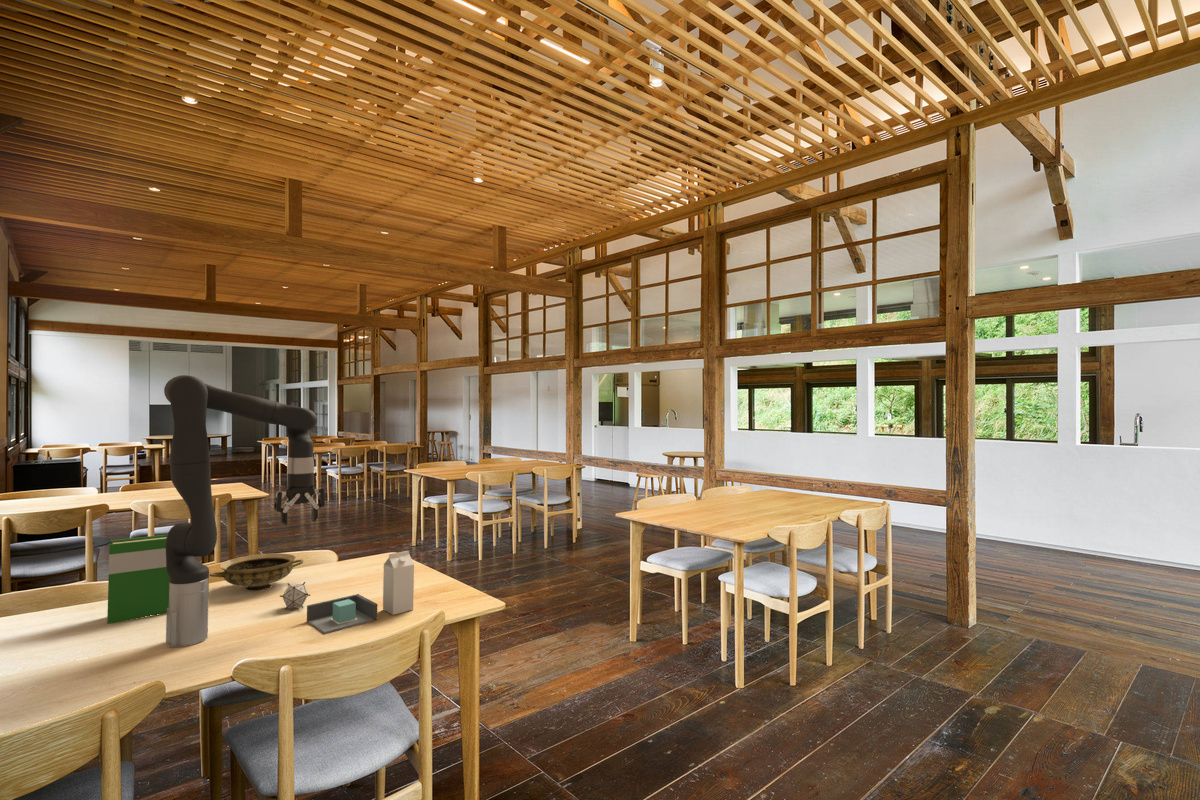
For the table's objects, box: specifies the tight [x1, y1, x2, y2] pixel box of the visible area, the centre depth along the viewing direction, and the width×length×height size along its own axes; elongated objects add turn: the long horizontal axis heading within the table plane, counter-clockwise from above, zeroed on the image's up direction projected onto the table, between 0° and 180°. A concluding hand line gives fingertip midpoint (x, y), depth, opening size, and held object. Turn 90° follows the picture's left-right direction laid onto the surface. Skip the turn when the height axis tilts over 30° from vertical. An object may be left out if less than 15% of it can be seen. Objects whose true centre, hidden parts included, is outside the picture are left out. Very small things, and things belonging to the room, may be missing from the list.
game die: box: [279, 581, 311, 611], centre depth 190 cm, size 9×8×10 cm
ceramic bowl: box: [209, 552, 304, 592], centre depth 211 cm, size 30×24×10 cm
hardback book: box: [106, 534, 169, 625], centre depth 183 cm, size 18×7×24 cm, turn 130°
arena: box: [306, 593, 378, 635], centre depth 179 cm, size 16×14×5 cm
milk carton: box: [382, 550, 415, 615], centre depth 189 cm, size 7×7×19 cm
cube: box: [333, 599, 356, 623], centre depth 179 cm, size 5×5×5 cm
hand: (299, 522), depth 181 cm, fingers open, 8 cm apart
